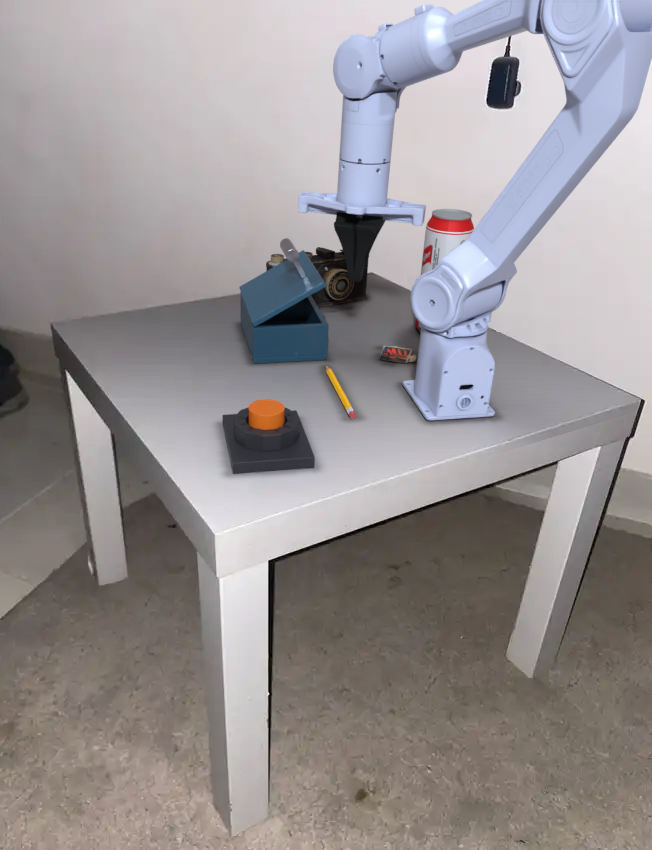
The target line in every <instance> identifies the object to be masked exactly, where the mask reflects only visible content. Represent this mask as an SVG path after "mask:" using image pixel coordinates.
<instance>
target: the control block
mask: <svg viewBox="0 0 652 850" xmlns="http://www.w3.org/2000/svg"><path fill="white" fill-rule="evenodd" d="M222 427H223V433H224V437H225V442H226V448H227V452H228V456H229V462H230V467H231V472H232V474H235V475H236V474H248V473H260V472H273V471H274V472H275V471H286V470H287V471H288V470H301V469H302V470H303V469H314V468H315V461H316V460H315V459H316V457H315V454H314V452H313V449H312V446H311V444H310V442H309V438H308V436H307V434H306V431H305V429H304V428H305V427H304V425H303V423H302V421H301V419H300V415H299V413H298V411H297V410H292V409H289V408H288V407H285V421H284V425H283V426H282V427H279V428H277V429H269V430H263V429H258V428H253V427H251V426H250V425H249V406H248V407H246V408H243V409H240V410H239V411H238V412H237V413H231V414H222Z"/></svg>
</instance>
